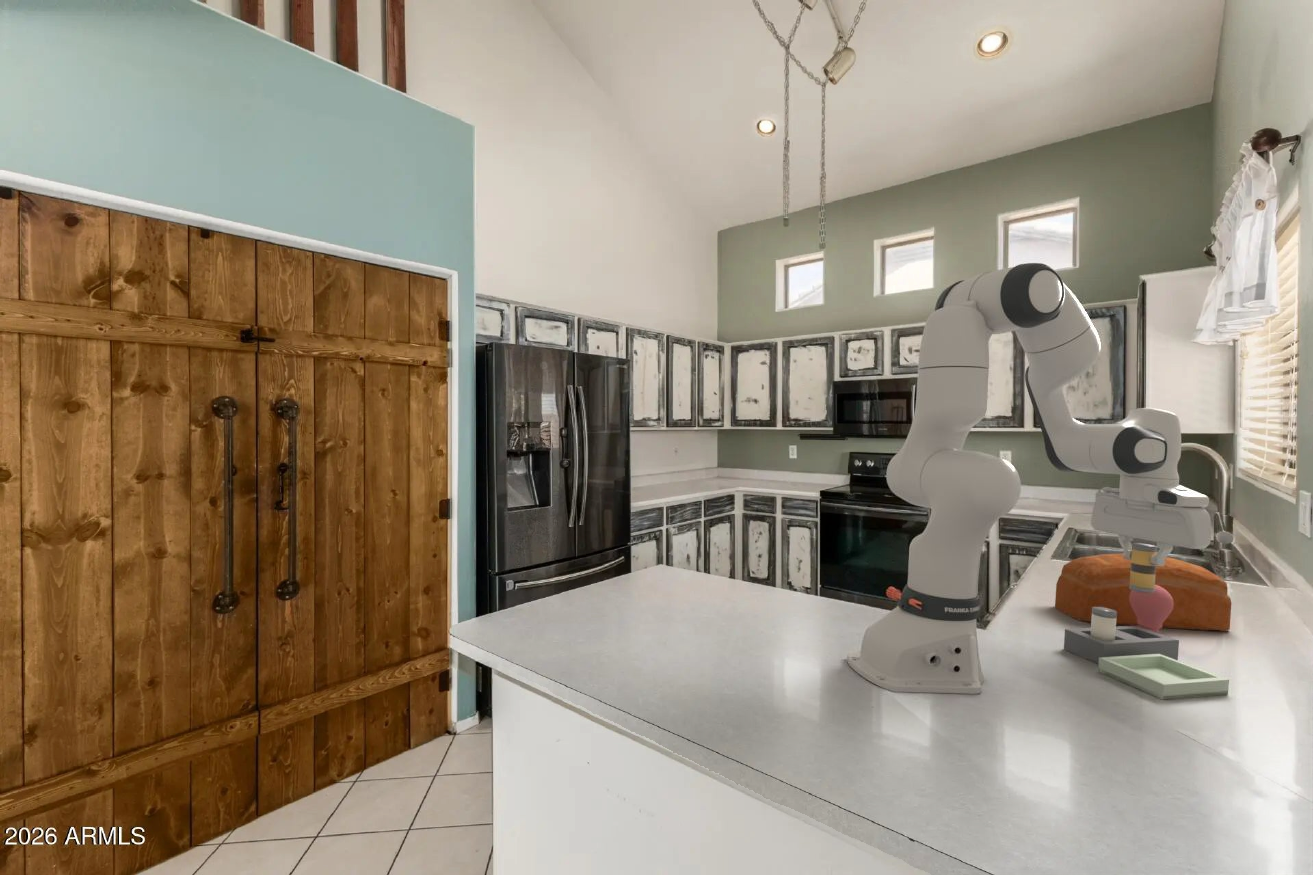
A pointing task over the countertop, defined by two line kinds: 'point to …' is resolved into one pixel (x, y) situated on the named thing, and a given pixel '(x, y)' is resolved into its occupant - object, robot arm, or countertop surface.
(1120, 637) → the fuse holder
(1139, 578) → the cylinder
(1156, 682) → the tray
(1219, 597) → the bread
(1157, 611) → the light bulb
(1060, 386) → the robot arm
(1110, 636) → the ball
